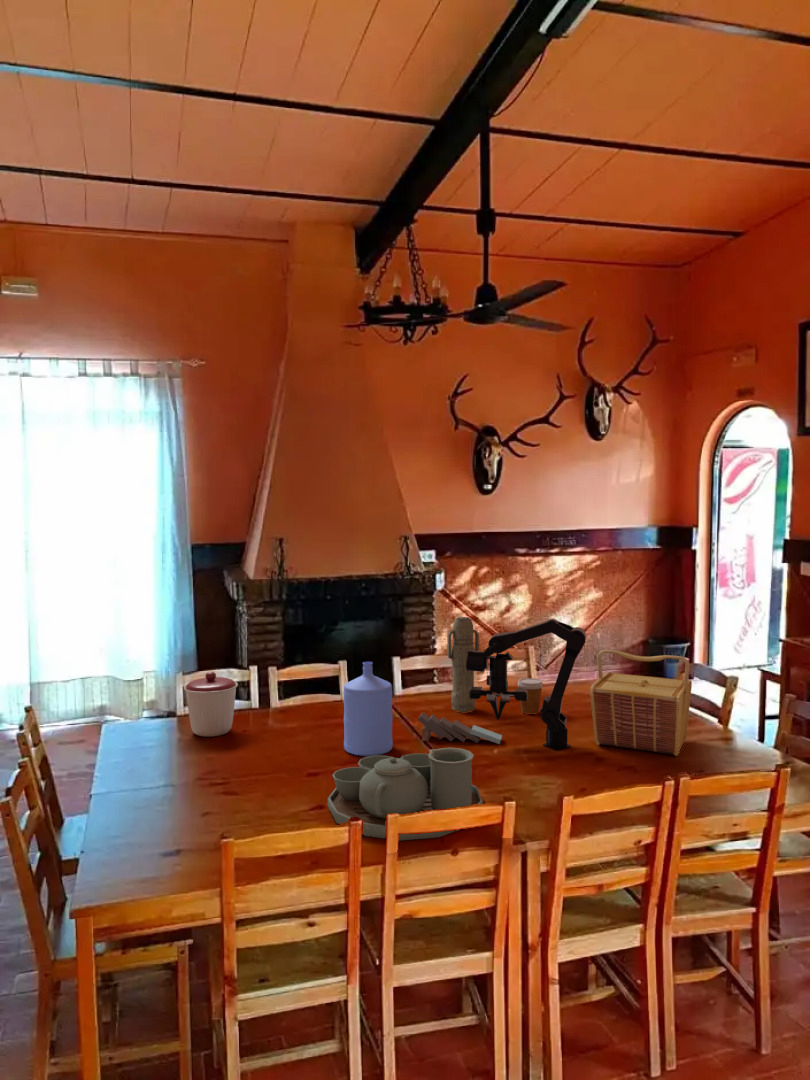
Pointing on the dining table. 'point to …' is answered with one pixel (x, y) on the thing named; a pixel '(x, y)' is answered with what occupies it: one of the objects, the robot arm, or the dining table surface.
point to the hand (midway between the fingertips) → (498, 719)
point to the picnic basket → (641, 708)
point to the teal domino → (486, 734)
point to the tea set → (403, 788)
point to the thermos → (462, 663)
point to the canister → (211, 704)
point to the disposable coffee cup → (531, 694)
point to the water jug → (368, 714)
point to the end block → (426, 734)
